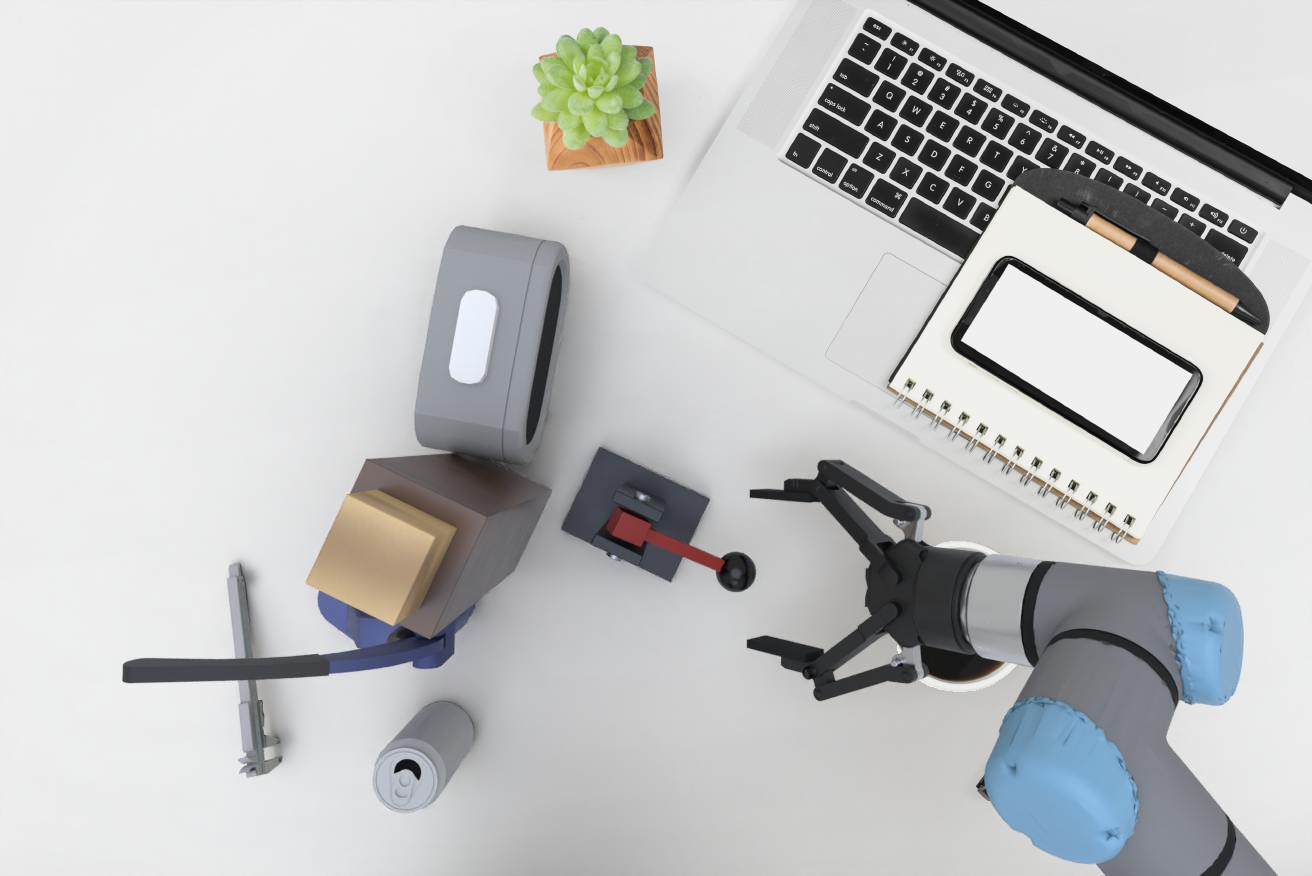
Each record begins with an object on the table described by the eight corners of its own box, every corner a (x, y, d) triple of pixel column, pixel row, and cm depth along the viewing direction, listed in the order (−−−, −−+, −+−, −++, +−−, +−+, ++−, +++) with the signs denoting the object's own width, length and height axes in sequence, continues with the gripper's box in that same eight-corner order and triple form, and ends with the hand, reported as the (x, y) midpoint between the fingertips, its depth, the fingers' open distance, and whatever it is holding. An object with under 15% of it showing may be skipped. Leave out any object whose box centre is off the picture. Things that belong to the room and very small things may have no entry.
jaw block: (419, 609, 55) (393, 626, 50) (338, 570, 55) (304, 583, 50) (457, 527, 55) (435, 536, 50) (376, 488, 55) (346, 493, 50)
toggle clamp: (709, 498, 82) (715, 510, 68) (670, 580, 82) (669, 608, 68) (600, 446, 82) (585, 448, 69) (562, 528, 83) (538, 546, 69)
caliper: (285, 760, 83) (253, 786, 77) (274, 762, 83) (242, 788, 77) (241, 562, 83) (205, 572, 77) (230, 564, 83) (194, 575, 77)
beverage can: (483, 709, 83) (450, 755, 71) (466, 770, 83) (430, 827, 71) (422, 691, 83) (379, 734, 71) (405, 753, 83) (359, 806, 71)
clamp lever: (753, 555, 76) (769, 566, 73) (736, 590, 76) (751, 603, 73) (618, 496, 72) (628, 505, 68) (600, 533, 72) (609, 544, 68)
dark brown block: (514, 571, 83) (430, 639, 55) (433, 532, 83) (308, 581, 55) (552, 490, 83) (488, 517, 55) (471, 451, 83) (366, 458, 55)
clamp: (491, 557, 83) (396, 619, 55) (489, 645, 83) (392, 751, 55) (305, 551, 83) (117, 608, 55) (303, 637, 83) (113, 739, 55)
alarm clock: (540, 464, 83) (513, 468, 69) (447, 446, 83) (402, 448, 69) (576, 261, 82) (557, 226, 69) (483, 244, 83) (445, 207, 69)
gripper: (1002, 761, 63) (780, 695, 78) (1008, 434, 63) (785, 432, 78) (955, 789, 58) (727, 712, 73) (962, 432, 58) (733, 430, 73)
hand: (757, 567), depth 76 cm, fingers open, 13 cm apart
